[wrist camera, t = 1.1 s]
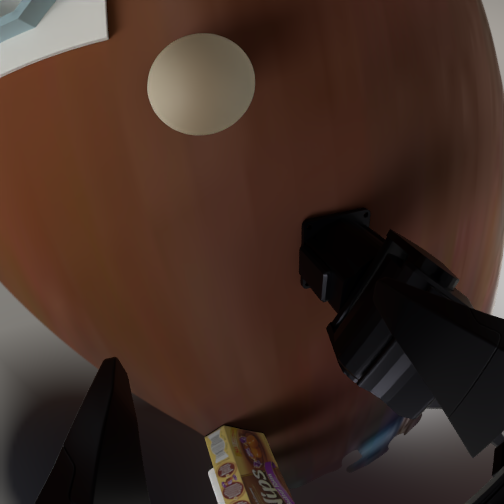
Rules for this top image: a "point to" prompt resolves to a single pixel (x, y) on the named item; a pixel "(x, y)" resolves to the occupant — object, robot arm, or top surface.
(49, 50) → the cup bracket
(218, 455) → the candy box
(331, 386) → the top surface
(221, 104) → the rail post
